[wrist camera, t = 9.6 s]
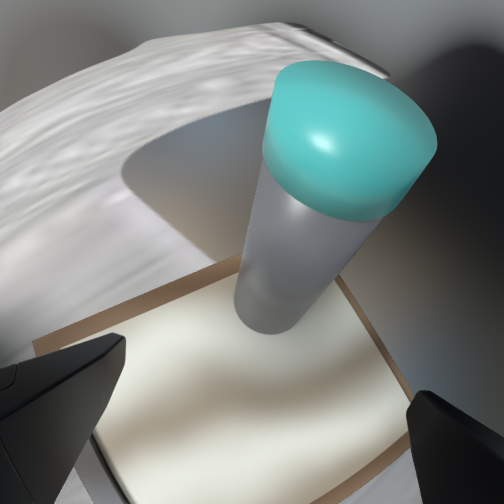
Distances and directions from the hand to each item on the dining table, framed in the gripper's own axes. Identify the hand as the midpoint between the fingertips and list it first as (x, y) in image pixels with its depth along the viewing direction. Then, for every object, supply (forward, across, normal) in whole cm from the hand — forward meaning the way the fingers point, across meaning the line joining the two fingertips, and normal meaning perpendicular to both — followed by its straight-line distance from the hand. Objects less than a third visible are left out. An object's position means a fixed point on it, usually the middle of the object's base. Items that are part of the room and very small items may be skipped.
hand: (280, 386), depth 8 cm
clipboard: (+6, 0, +7) cm, 9 cm away
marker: (+10, 0, +2) cm, 10 cm away
